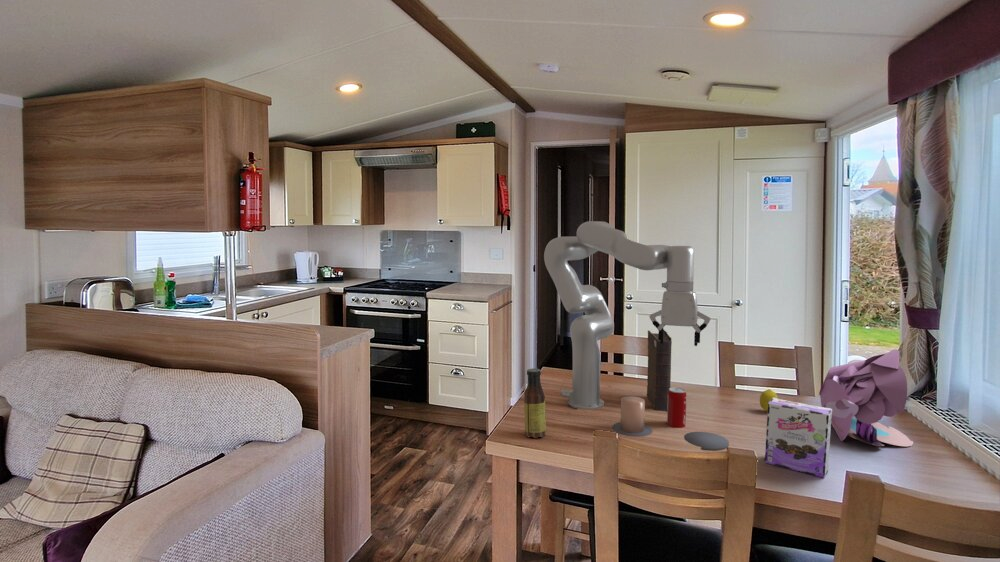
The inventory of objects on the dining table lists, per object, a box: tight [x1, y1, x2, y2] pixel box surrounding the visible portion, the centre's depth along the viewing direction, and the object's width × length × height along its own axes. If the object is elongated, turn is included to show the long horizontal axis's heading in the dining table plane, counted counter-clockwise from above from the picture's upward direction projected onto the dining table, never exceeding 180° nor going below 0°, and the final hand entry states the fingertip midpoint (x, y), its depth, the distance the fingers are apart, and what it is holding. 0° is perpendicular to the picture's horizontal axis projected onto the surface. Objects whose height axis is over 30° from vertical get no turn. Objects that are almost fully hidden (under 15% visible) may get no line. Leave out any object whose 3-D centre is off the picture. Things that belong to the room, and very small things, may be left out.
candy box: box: [764, 398, 832, 478], centre depth 136 cm, size 14×6×16 cm, turn 50°
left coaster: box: [611, 421, 654, 438], centre depth 161 cm, size 12×12×1 cm
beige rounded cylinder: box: [620, 395, 646, 433], centre depth 161 cm, size 7×7×9 cm
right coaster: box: [683, 431, 730, 451], centre depth 153 cm, size 12×12×1 cm
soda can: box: [666, 386, 687, 429], centre depth 164 cm, size 6×6×12 cm
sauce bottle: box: [523, 367, 547, 439], centre depth 157 cm, size 6×6×20 cm
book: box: [646, 329, 672, 412], centre depth 184 cm, size 17×7×25 cm, turn 167°
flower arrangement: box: [818, 348, 914, 448], centre depth 156 cm, size 35×24×28 cm
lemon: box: [759, 388, 779, 413], centre depth 176 cm, size 6×6×8 cm
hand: (678, 343), depth 159 cm, fingers open, 9 cm apart
